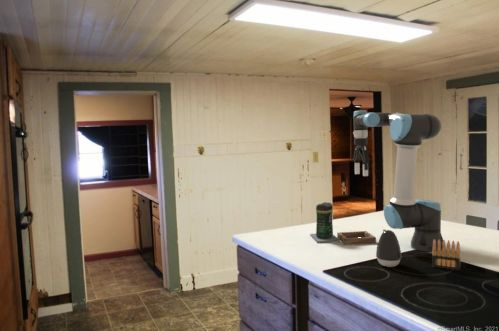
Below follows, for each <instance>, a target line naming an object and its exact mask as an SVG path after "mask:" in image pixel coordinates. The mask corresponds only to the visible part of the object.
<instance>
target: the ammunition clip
mask: <svg viewBox="0 0 499 331" xmlns="http://www.w3.org/2000/svg"><path fill="white" fill-rule="evenodd" d="M460 246H461V245H460V242H459V241H457V242H456V244H455V241H454V240H452V242H450V240H447V243H446V241H445V239H443V243H442V251H441V242H440V239H439V240H438V246H437V249H436V241H435V239H434V240H433V248H432V251H431V252H432V254H431V255H432V256H431V268H433V267H441V268H451V269H460V268H461V265H462V264H461V247H460ZM441 268H440V269H441ZM461 269H462V268H461Z"/></svg>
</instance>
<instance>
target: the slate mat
mask: <svg viewBox="0 0 499 331" xmlns="http://www.w3.org/2000/svg"><path fill="white" fill-rule="evenodd" d="M310 237H311V238H312V239H313V240H314V242H316V243H317V244H327V243H340V242H341V241H340V240H339V239H338V238H337V235H335V234H333V236H332V237H330V238H323V239H322V238H319V237H317V236H316V233H310Z"/></svg>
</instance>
